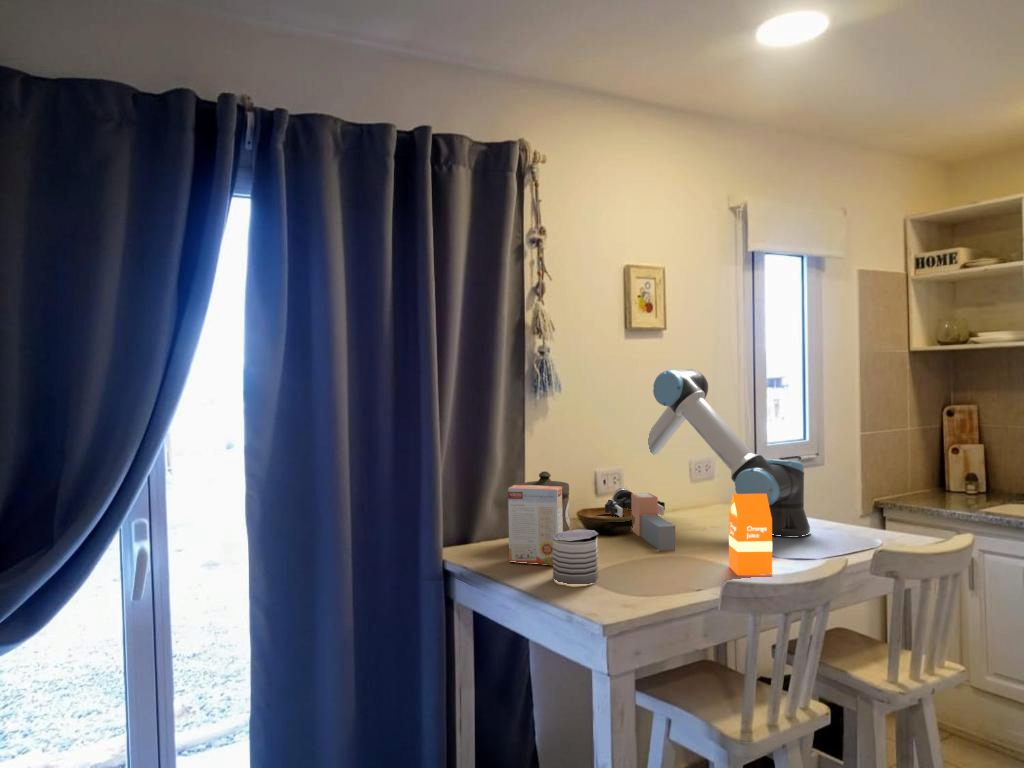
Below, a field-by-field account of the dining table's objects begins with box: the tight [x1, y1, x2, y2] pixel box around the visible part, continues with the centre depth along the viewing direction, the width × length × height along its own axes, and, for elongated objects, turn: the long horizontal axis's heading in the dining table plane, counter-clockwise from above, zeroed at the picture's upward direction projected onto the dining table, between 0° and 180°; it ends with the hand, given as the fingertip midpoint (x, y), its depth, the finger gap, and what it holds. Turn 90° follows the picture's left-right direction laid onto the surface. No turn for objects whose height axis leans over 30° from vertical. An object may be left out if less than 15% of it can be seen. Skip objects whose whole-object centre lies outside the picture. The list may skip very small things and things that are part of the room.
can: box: [552, 529, 599, 584], centre depth 178 cm, size 11×11×12 cm
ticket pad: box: [640, 514, 676, 552], centre depth 214 cm, size 16×5×7 cm, turn 8°
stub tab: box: [631, 492, 659, 538], centre depth 226 cm, size 8×6×12 cm
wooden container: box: [520, 470, 571, 532], centre depth 215 cm, size 15×15×22 cm
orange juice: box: [728, 493, 773, 576], centre depth 184 cm, size 8×9×20 cm
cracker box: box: [507, 484, 563, 565], centre depth 195 cm, size 14×6×21 cm, turn 71°
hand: (642, 512), depth 227 cm, fingers open, 13 cm apart
